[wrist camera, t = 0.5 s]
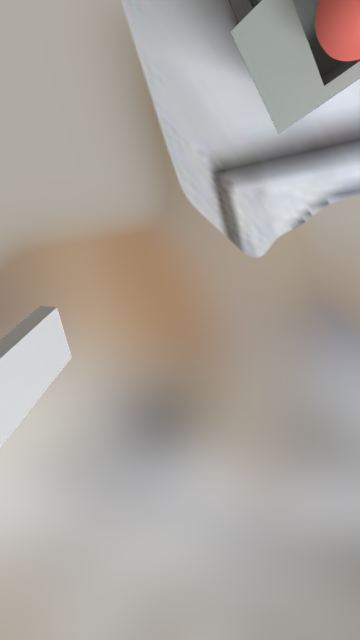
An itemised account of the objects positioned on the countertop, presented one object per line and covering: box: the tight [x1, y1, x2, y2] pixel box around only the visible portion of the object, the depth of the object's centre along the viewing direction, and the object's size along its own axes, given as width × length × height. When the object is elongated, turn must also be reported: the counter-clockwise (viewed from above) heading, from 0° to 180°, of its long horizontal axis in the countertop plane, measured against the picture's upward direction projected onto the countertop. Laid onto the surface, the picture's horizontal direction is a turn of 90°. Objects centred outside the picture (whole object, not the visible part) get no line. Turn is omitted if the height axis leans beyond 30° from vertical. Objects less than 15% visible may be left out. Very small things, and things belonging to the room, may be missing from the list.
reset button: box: [315, 0, 360, 61], centre depth 13 cm, size 3×3×2 cm
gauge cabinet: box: [231, 0, 360, 134], centre depth 17 cm, size 10×6×12 cm, turn 128°
